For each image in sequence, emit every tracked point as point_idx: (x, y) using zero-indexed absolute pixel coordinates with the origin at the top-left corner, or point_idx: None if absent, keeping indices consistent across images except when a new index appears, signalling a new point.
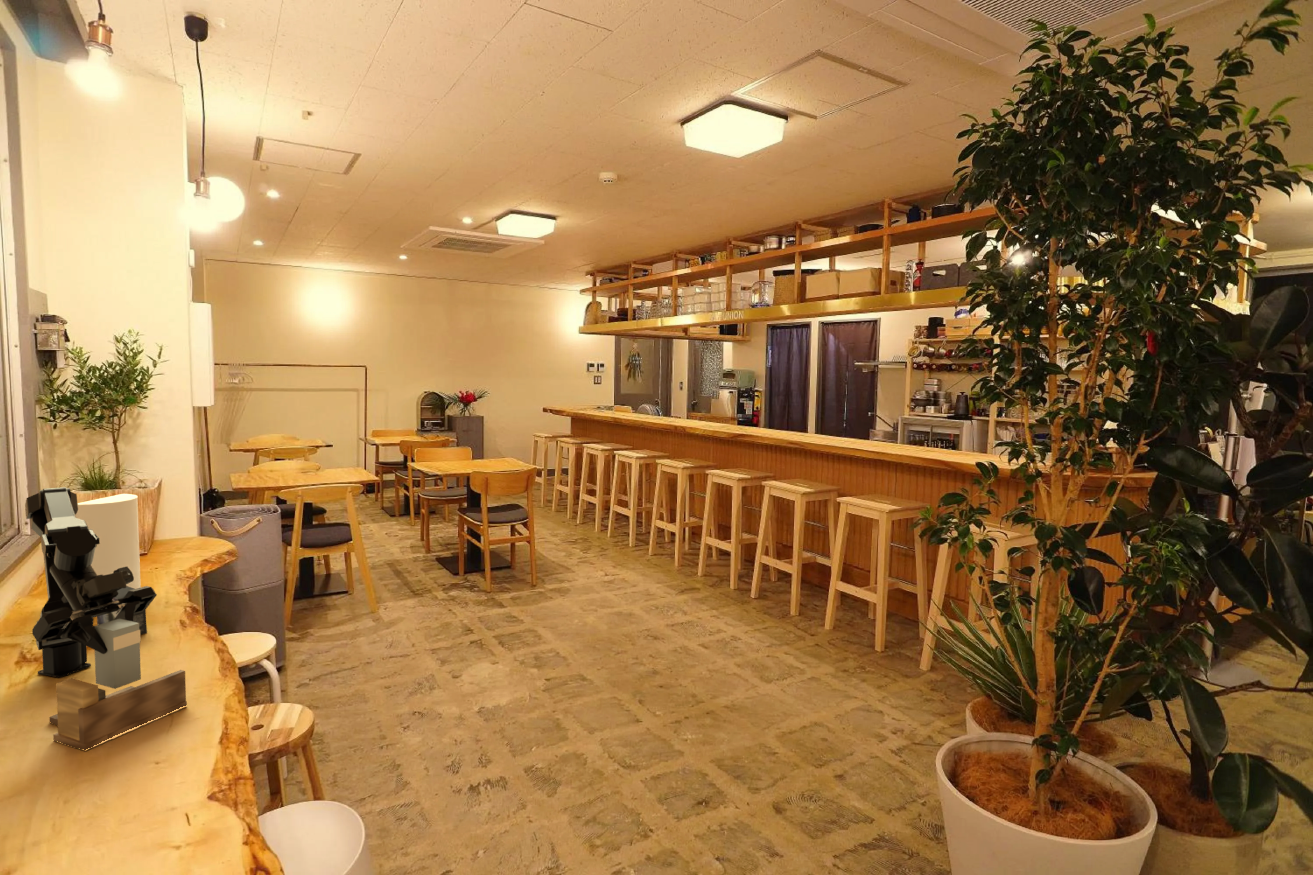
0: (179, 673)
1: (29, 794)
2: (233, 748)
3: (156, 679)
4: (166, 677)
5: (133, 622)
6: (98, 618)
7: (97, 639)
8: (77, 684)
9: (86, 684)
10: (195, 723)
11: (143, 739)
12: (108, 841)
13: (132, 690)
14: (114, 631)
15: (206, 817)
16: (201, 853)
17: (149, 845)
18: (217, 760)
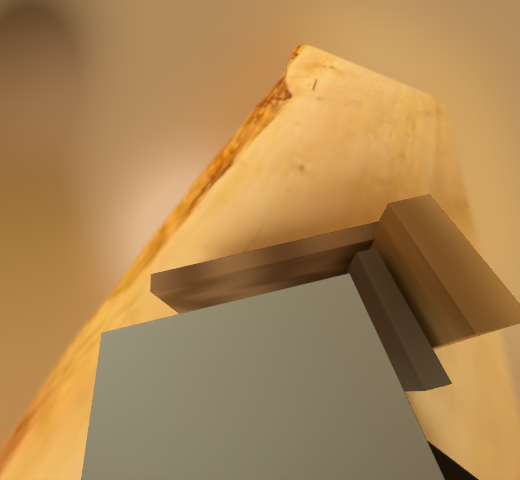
0: (168, 270)
1: (445, 193)
2: (230, 146)
3: (224, 271)
4: (202, 266)
5: (106, 414)
6: None
7: (442, 467)
8: (447, 252)
9: (419, 232)
10: (218, 231)
11: (292, 236)
12: (372, 90)
13: (292, 245)
14: (337, 282)
15: (303, 80)
16: (322, 58)
17: (347, 75)
18: (254, 136)
